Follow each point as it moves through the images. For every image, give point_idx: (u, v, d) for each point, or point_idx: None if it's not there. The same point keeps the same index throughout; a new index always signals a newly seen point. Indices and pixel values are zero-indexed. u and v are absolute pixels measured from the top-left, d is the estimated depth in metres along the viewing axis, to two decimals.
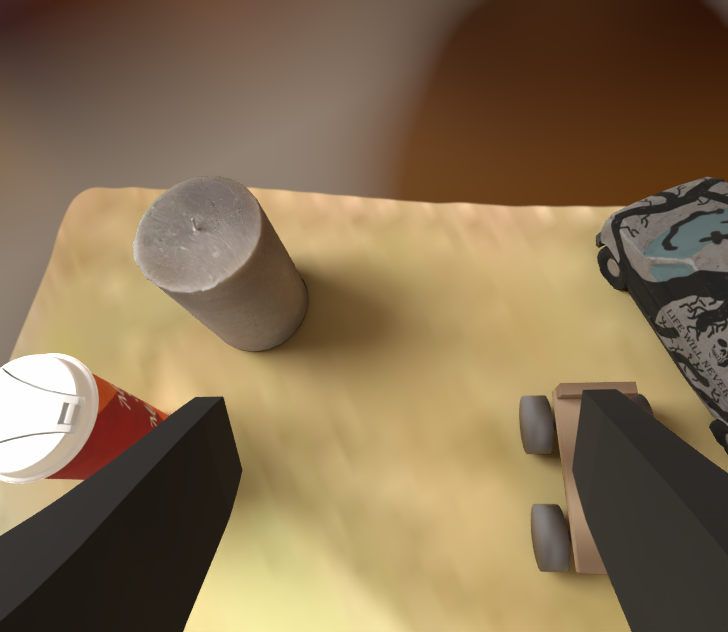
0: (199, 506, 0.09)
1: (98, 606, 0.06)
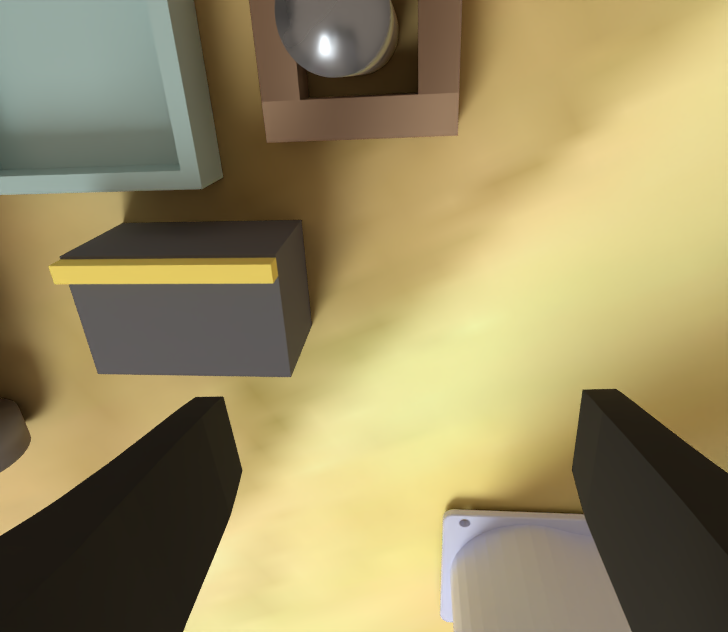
0: (199, 506, 0.09)
1: (98, 606, 0.06)
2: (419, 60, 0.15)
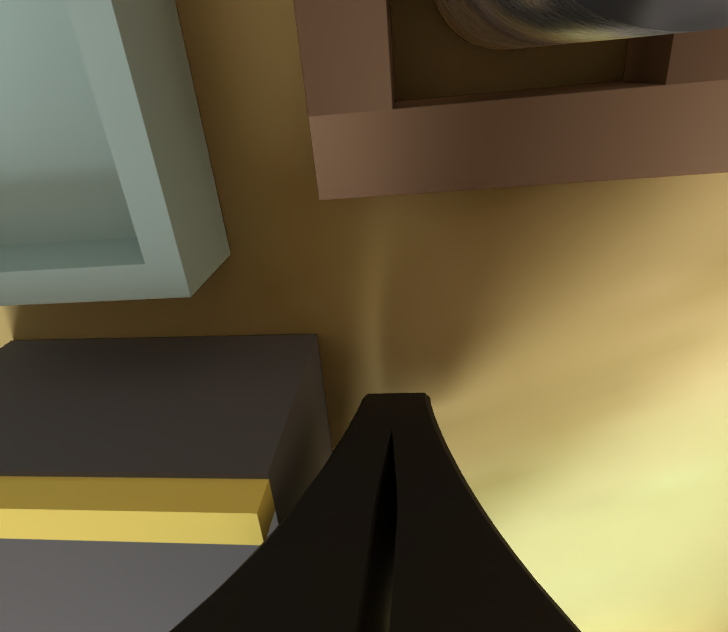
0: (394, 507, 0.09)
1: (372, 615, 0.06)
2: None
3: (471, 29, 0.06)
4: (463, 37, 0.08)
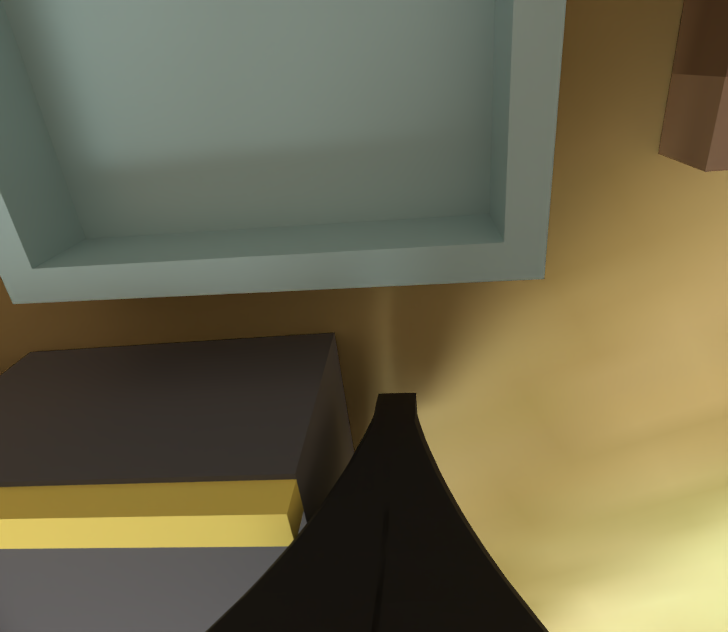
0: None
1: None
2: None
3: None
4: None
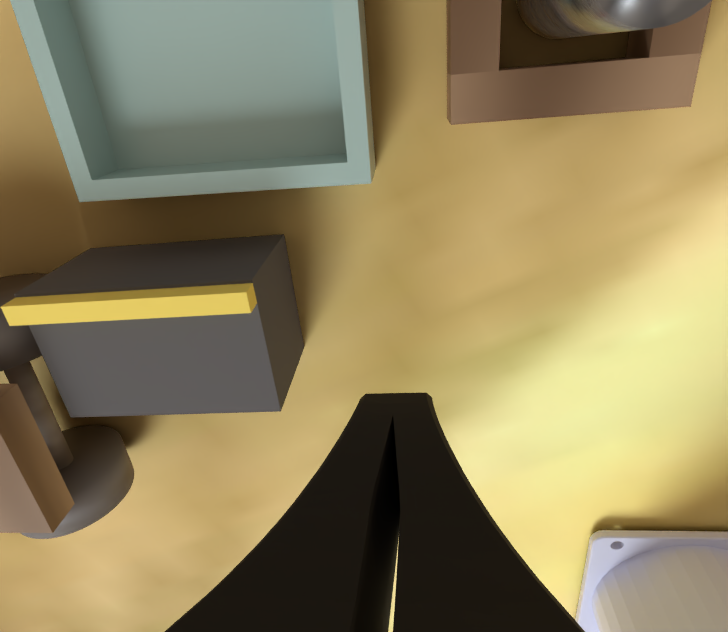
0: (391, 507, 0.09)
1: (368, 615, 0.06)
2: None
3: (547, 26, 0.12)
4: (534, 31, 0.13)
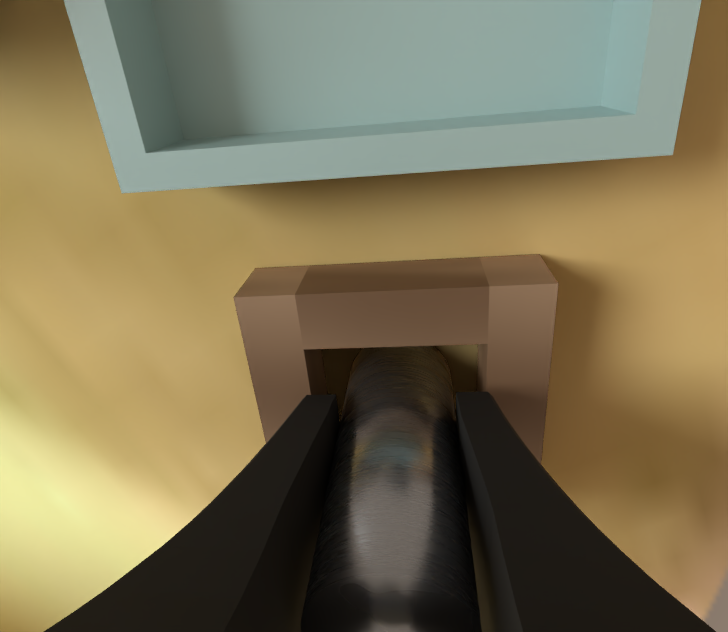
0: None
1: (273, 612, 0.06)
2: None
3: (349, 402, 0.10)
4: (356, 359, 0.12)
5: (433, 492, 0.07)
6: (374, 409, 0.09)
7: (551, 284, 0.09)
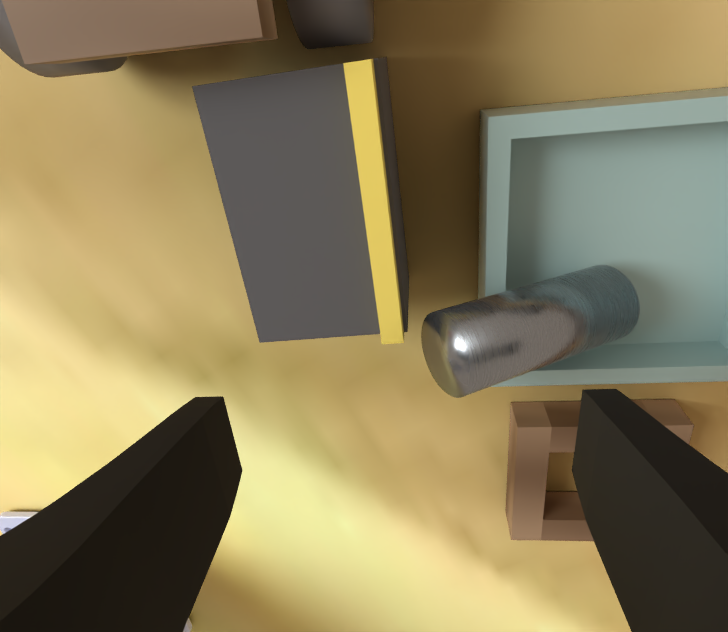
0: (199, 506, 0.09)
1: (98, 606, 0.06)
2: (565, 520, 0.20)
3: None
4: None
5: (508, 315, 0.13)
6: (534, 283, 0.15)
7: (690, 425, 0.18)
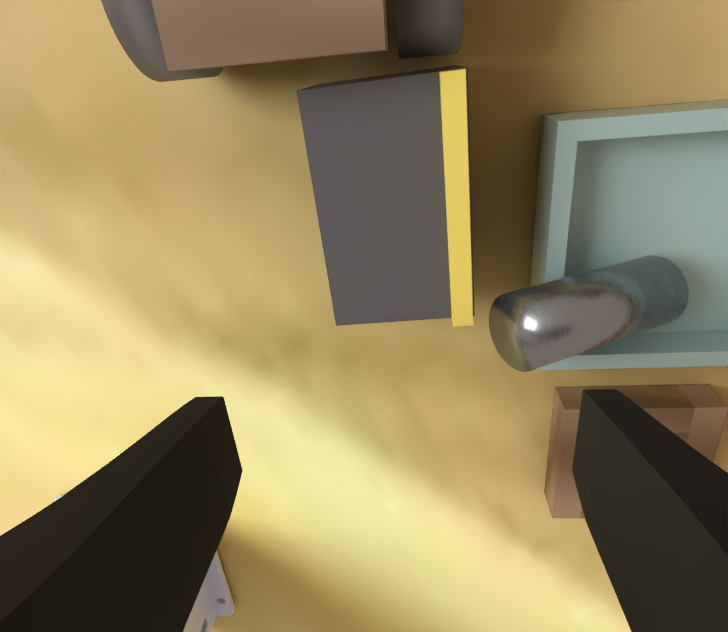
0: (199, 506, 0.09)
1: (98, 606, 0.06)
2: None
3: None
4: None
5: (573, 296, 0.15)
6: (591, 270, 0.16)
7: (726, 407, 0.19)
